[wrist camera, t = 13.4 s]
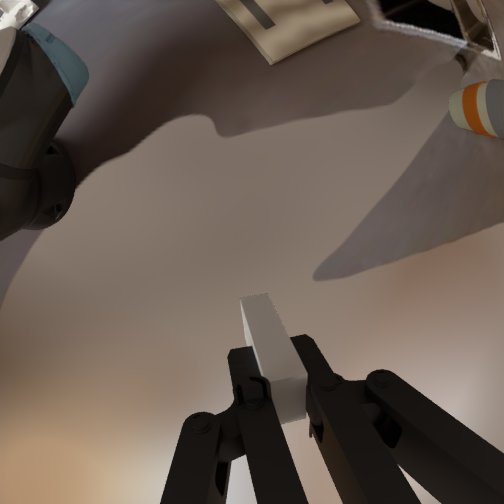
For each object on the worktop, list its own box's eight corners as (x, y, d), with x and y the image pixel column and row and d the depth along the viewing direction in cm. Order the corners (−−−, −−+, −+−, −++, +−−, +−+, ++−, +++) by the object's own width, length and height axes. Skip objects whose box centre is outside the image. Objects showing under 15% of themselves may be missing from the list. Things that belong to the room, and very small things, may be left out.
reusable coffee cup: (454, 73, 44) (503, 66, 30) (480, 113, 48) (527, 114, 34) (436, 107, 46) (489, 104, 32) (464, 147, 50) (515, 154, 36)
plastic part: (13, 39, 28) (-18, 23, 17) (-2, 19, 25) (-31, 4, 14) (41, 10, 28) (14, -12, 17) (24, -8, 24) (-1, -28, 13)
